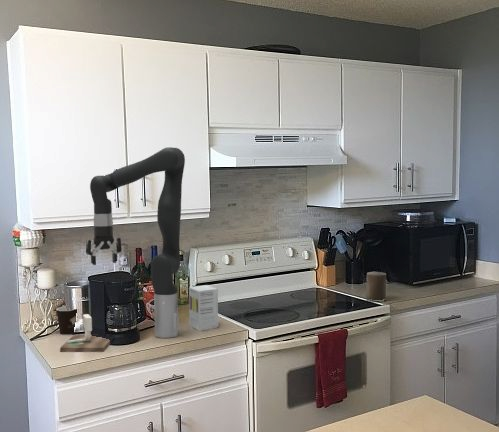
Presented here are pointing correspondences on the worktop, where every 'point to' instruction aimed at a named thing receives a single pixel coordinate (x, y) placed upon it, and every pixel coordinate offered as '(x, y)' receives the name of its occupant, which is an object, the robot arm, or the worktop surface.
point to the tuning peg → (87, 326)
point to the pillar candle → (376, 286)
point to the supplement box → (203, 307)
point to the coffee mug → (66, 320)
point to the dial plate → (85, 344)
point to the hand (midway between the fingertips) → (104, 263)
